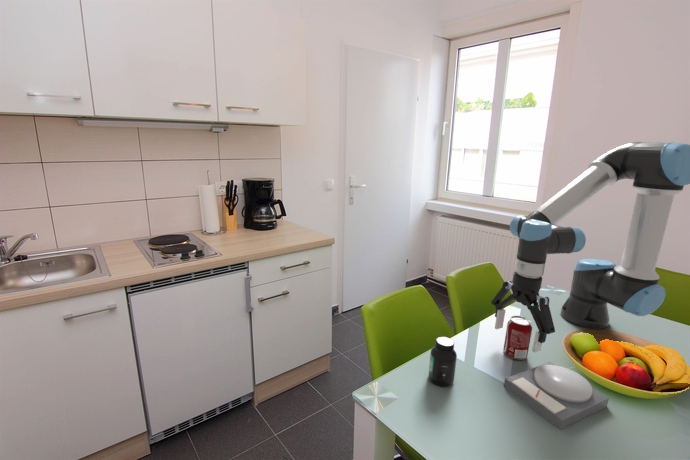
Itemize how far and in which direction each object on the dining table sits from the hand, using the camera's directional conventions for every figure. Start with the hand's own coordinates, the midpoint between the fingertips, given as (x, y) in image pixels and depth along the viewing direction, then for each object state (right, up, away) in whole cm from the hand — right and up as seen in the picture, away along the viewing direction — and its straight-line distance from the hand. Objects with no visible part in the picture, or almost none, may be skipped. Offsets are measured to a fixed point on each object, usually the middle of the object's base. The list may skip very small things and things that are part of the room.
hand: (516, 338), depth 108 cm
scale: (+2, -10, -16) cm, 19 cm away
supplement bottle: (-26, -8, -11) cm, 29 cm away
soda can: (0, -6, +2) cm, 6 cm away
